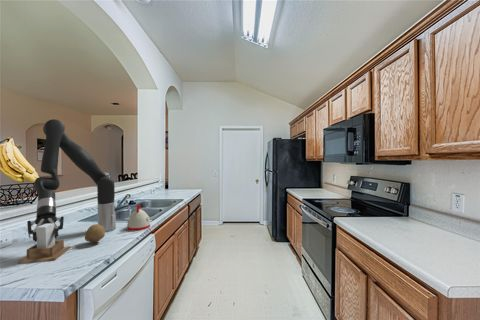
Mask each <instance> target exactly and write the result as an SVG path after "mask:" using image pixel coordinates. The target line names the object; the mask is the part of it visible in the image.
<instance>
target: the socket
mask: <svg viewBox="0 0 480 320" xmlns="http://www.w3.org/2000/svg"><path fill="white" fill-rule="evenodd" d="M64 243H65V241H64V239H61V240H55V245H54V246H52V247H48V248H37V243H35V244H34V245H33V246H30V247H29V248H27V249H26V255H25V256H24V257H23V258H21V259H20V260H18V261H17V263H18V264H26V263H39V262H49V261H56V260H58V259H59V258H60V257H61V256H62V255H64V254H65V253H67V251H68V250H70V249H71V245H69V246H68V245H67V246H64V245H65V244H64Z"/></svg>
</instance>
